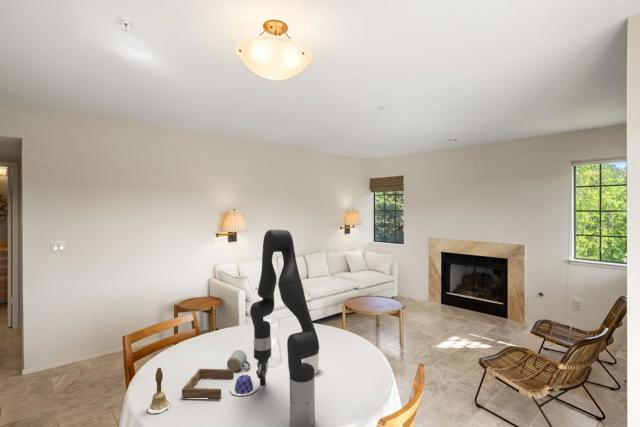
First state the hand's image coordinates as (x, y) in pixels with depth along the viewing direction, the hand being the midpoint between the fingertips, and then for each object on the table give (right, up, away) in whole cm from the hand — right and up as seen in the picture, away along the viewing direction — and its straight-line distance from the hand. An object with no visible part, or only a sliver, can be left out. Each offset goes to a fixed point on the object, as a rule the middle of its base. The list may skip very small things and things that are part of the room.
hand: (262, 385), depth 143 cm
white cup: (+21, -1, +15) cm, 25 cm away
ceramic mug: (-15, -2, +19) cm, 24 cm away
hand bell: (-39, -2, -13) cm, 41 cm away
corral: (-23, -2, +1) cm, 23 cm away
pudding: (-8, -2, 0) cm, 9 cm away
